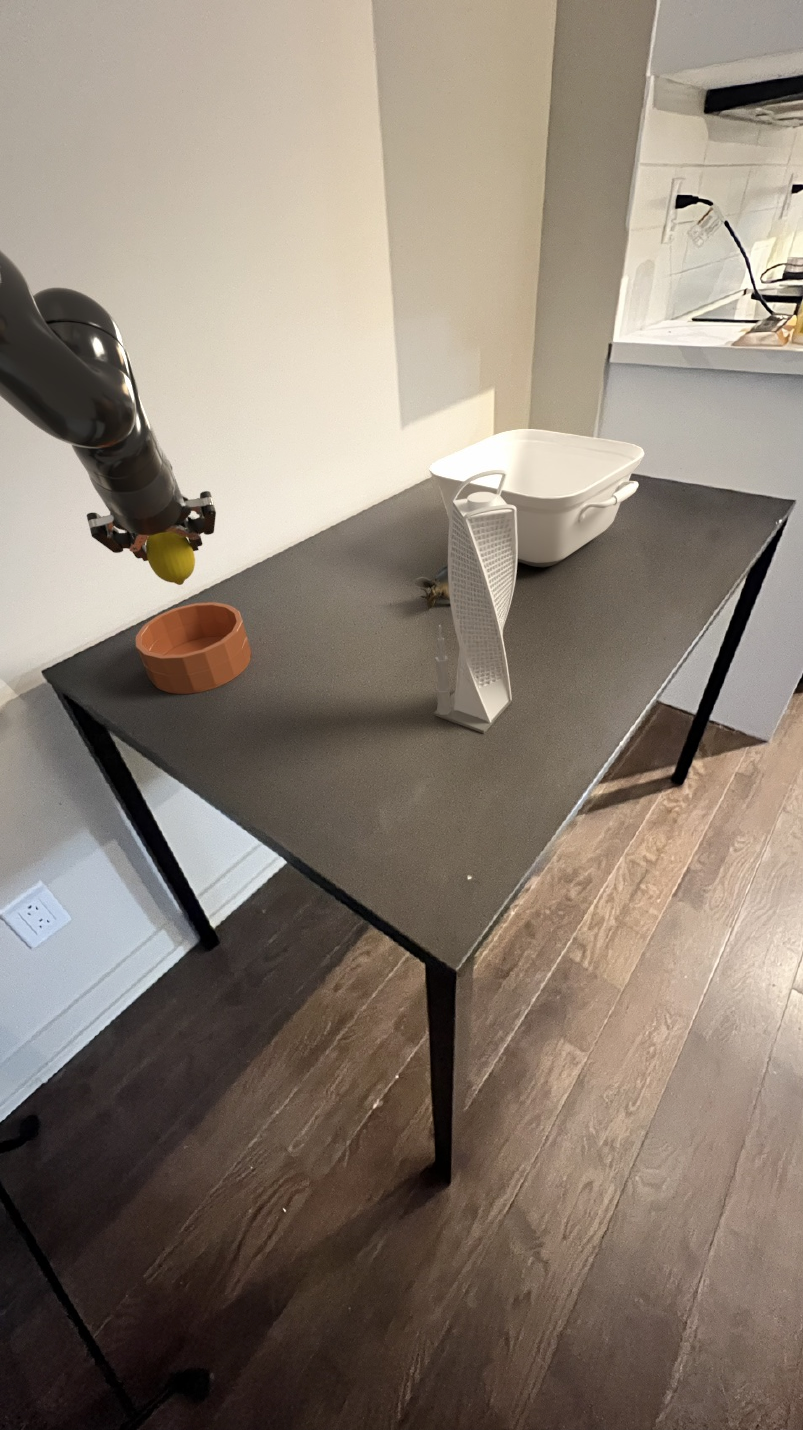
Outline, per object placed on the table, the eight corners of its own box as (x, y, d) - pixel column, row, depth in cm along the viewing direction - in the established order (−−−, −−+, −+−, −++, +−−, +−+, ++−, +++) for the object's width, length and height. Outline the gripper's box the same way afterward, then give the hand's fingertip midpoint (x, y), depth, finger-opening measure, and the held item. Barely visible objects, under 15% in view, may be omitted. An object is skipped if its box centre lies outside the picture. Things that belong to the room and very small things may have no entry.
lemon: (150, 587, 80) (128, 528, 75) (186, 571, 84) (167, 512, 79) (174, 599, 77) (152, 537, 72) (210, 581, 81) (192, 521, 75)
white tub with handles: (658, 535, 111) (674, 449, 101) (571, 601, 96) (580, 507, 86) (502, 499, 130) (503, 423, 121) (409, 549, 115) (402, 467, 106)
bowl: (134, 695, 86) (118, 659, 82) (170, 638, 97) (158, 604, 94) (236, 692, 85) (225, 655, 81) (261, 634, 96) (252, 600, 92)
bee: (454, 615, 93) (491, 581, 97) (428, 575, 91) (466, 542, 95) (428, 623, 100) (463, 592, 103) (402, 586, 98) (439, 555, 101)
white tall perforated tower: (469, 679, 82) (464, 462, 65) (525, 697, 78) (536, 471, 61) (434, 715, 77) (419, 489, 60) (492, 736, 73) (494, 501, 56)
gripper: (69, 531, 61) (118, 588, 78) (216, 502, 64) (234, 564, 80) (52, 460, 62) (104, 532, 78) (198, 435, 64) (219, 510, 81)
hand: (170, 548), depth 79 cm, fingers closed on lemon, 5 cm apart
